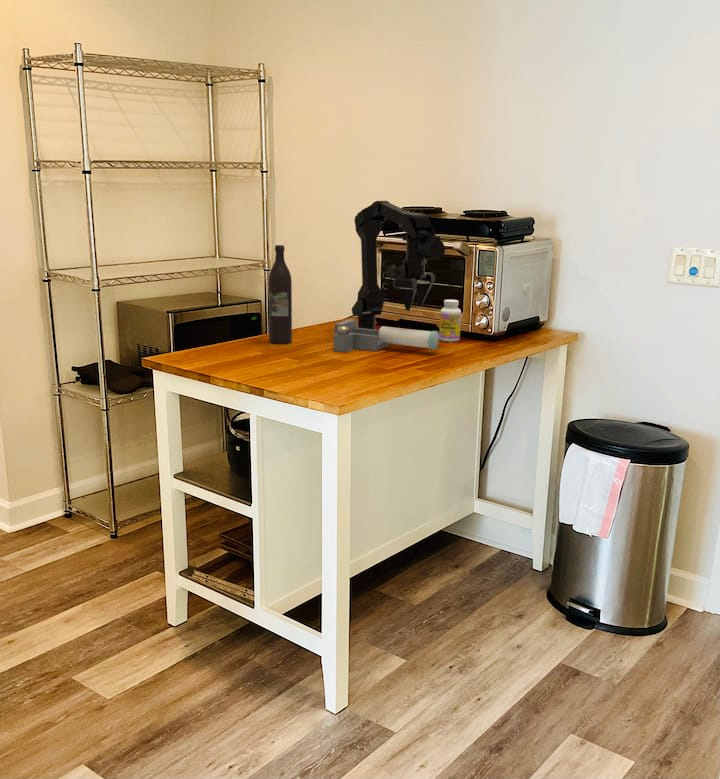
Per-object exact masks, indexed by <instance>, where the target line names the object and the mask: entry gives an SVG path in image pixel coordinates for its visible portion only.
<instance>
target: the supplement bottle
mask: <svg viewBox="0 0 720 779" xmlns="http://www.w3.org/2000/svg"><path fill="white" fill-rule="evenodd" d="M459 303H460V302H459V300H457V299H444V300H443V305H444V307H442V308H441V309H440V313H439V314H440V315H439V316H440V317H439V331H438V333H439V341H443V342H449V343H450V342H453V343H454V341H455V342H458V341H459V340H460V339H461V325H462V324H461V323H462V322H461V321H462V311H461V309H460V308H459V307H458V306H459V305H460V304H459Z"/></svg>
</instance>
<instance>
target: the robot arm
mask: <svg viewBox="0 0 720 779" xmlns="http://www.w3.org/2000/svg"><path fill="white" fill-rule="evenodd" d="M429 218H430V216H428V215H427V214H425V213H421V212H411V211H410V212H409V211H408V210H405V209H404V208H401V207H399V206H397V205H395V204H393V203H391V202H389V201H388V200H376V201H374V202H372V204H371V205H368V206H367V207H364V208H363V209H362V210H360V211H358V213H356V215H355V217H354V225H355V226H354V227H355V232H356V234H357V236H358V237H359V239H360V246H361V247H360V248H361V252H360V253H361V278H362V280H361V287H360V289H358V292H357V299H356V302H355V303H354V305H353V306H352V307H351V312H352V316H355V317H357V328H365V329H374V330H376V316H381V315H382V311H383V309H384V303H385V291H384V289H382V288H381V286H379V284H378V257H377V256H378V254H377V253H378V252H377V250H378V249H377V248H378V247H377V239H378V237H379V235H380V234H381V231H382V224H383V223H384V222H386V220H387V219H388V220H390V221H393V222H394V223H395V224H398V225H399V226H400V229H401V230H402V231H404V232H405V233H406V235H404V236H403V237H402V241H405V242H406V245H405V246H406V249H405V250H406V251H405V259H403V261H402V264H401V265H398V266H396V265H395V264H391V265H388V266H387V268H386V269H387V270H385V271H386V273H385V276H387V277H389V280H390V281H391V280H393V281H392V282H393V284H392V285H393V288H395V290H397V291H398V292H399V293H400V294H401V297H402V301H403V304H404V308H405V310H406V311H410V310H411V308H412V305H413V302H414V299H415V296H416V302H417V306H418V307H422V306H423V304H424V302H425V300H426V297H427V296H428V294H429V292H430V290H431V288H432V287H433V285H434V283H435V282H436V274H434V273H433V272H427V271H426V270H425V269H426V268H425V267H426V266H425V265H427V264H428V260H434V261H438V260H441V259H442V258H443V257H444V256H445V253H446V247H445V244H444V243H443V241H442V240H441V236H440V235H436V231H435V230H434V228H433V225H432V223H431V220H430V219H429ZM425 271H426V272H425Z"/></svg>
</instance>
